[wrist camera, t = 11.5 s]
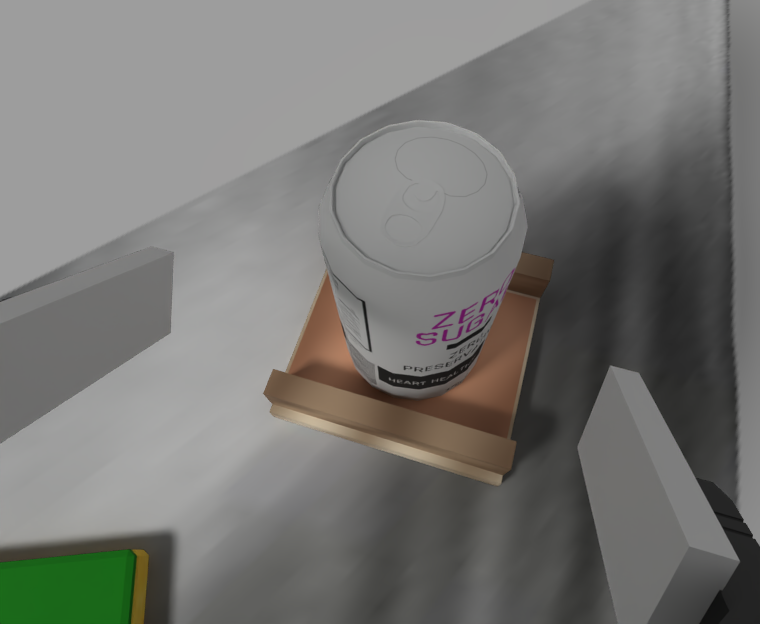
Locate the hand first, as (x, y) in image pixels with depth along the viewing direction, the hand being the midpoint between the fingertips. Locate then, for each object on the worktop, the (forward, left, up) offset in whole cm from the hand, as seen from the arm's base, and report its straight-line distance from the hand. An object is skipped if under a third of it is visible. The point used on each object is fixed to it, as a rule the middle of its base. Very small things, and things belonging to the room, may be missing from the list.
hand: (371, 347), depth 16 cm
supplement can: (0, +7, -17) cm, 18 cm away
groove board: (0, +7, -18) cm, 19 cm away
